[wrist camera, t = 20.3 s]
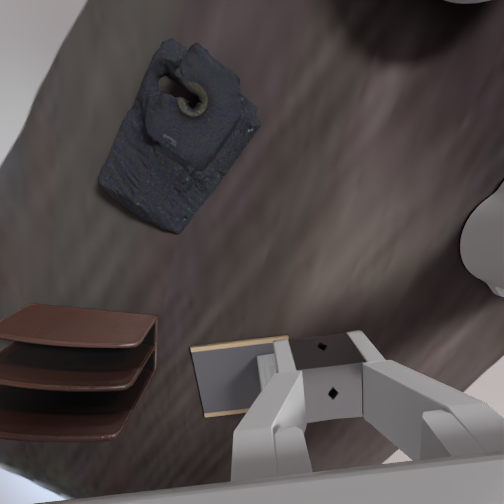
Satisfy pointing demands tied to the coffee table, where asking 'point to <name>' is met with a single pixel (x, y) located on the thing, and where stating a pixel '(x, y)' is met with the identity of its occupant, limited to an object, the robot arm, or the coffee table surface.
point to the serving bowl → (466, 1)
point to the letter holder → (73, 372)
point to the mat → (230, 374)
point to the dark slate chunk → (178, 138)
